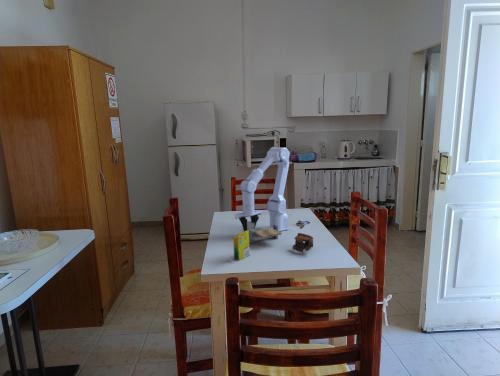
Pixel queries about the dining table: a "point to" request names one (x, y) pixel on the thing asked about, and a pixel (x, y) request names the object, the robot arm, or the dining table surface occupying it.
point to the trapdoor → (264, 232)
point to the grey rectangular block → (250, 225)
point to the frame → (261, 237)
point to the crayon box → (241, 245)
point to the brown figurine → (303, 245)
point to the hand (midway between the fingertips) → (249, 230)
